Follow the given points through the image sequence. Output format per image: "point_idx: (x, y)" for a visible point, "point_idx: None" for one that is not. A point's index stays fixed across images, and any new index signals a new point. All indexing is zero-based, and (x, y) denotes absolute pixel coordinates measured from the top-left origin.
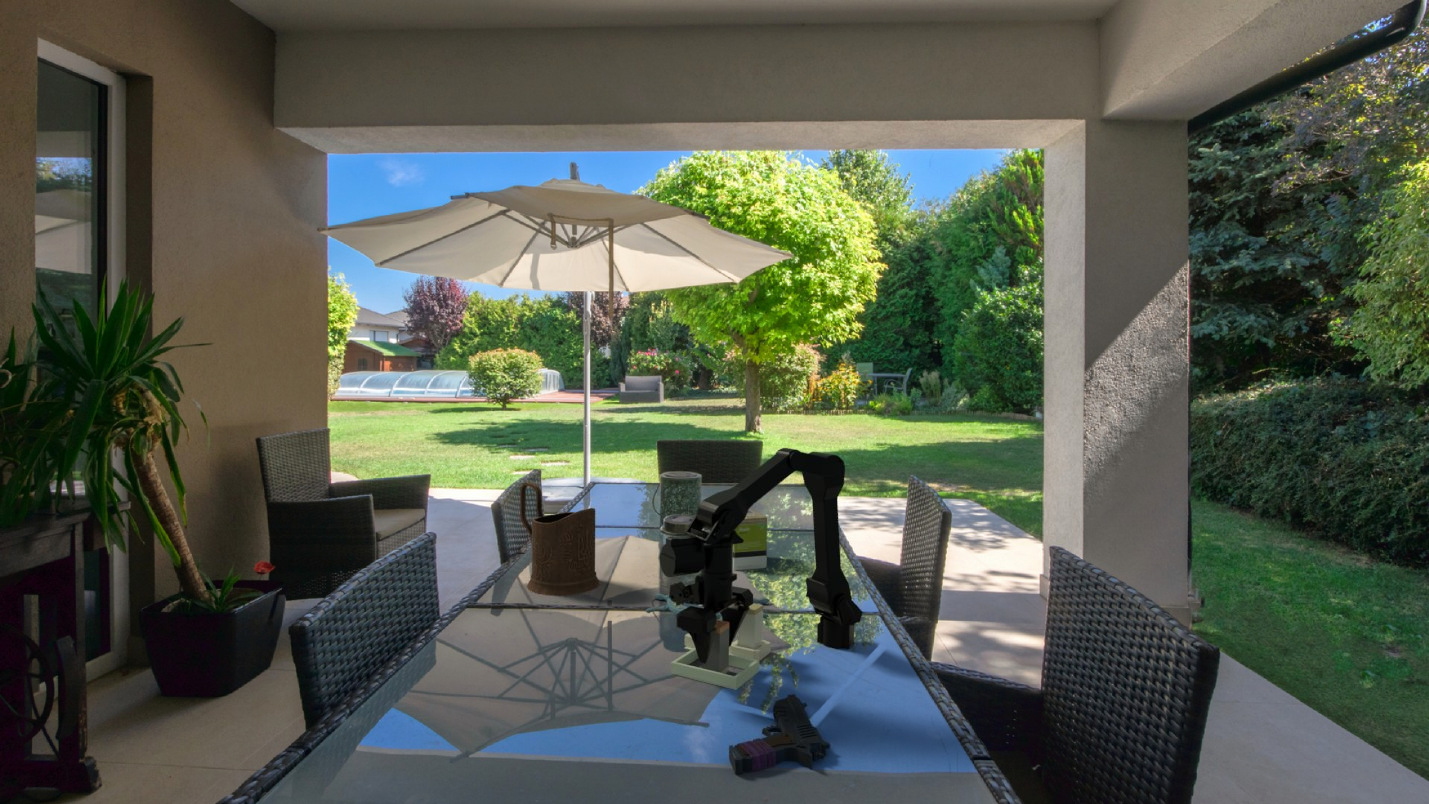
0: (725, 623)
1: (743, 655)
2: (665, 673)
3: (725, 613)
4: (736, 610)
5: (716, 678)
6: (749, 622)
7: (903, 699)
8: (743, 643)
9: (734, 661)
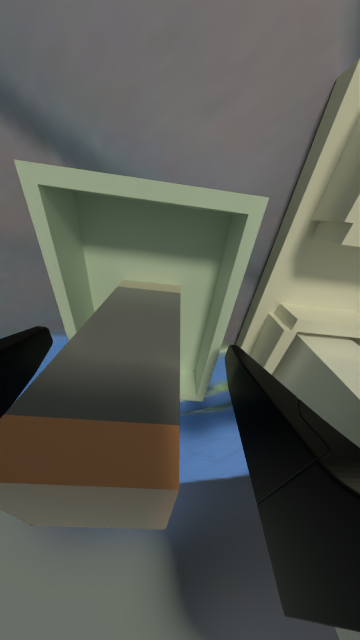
0: (130, 525)
1: (260, 348)
2: (90, 117)
3: (335, 530)
4: (313, 614)
5: None
6: None
7: (197, 471)
8: (295, 361)
9: (206, 346)
